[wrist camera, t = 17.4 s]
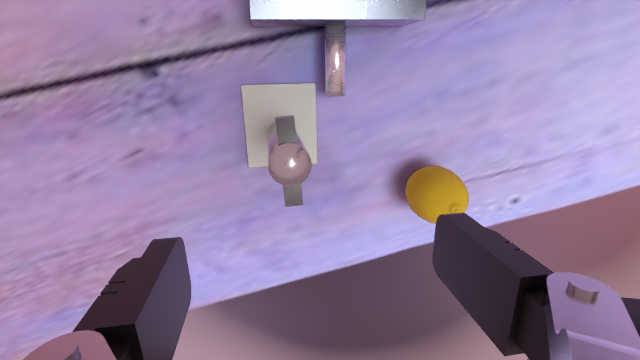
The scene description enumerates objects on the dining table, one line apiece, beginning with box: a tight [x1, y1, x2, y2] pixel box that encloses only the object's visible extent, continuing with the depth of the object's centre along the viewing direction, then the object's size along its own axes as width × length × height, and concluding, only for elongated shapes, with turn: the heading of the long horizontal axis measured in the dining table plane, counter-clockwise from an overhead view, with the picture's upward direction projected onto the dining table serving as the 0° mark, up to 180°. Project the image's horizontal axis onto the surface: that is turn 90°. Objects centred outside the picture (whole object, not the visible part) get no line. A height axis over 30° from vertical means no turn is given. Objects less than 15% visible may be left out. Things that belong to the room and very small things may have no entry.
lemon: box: [405, 166, 469, 223], centre depth 34 cm, size 6×6×8 cm
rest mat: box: [241, 83, 317, 168], centre depth 33 cm, size 8×7×1 cm
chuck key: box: [268, 115, 311, 207], centre depth 27 cm, size 3×6×12 cm, turn 4°
